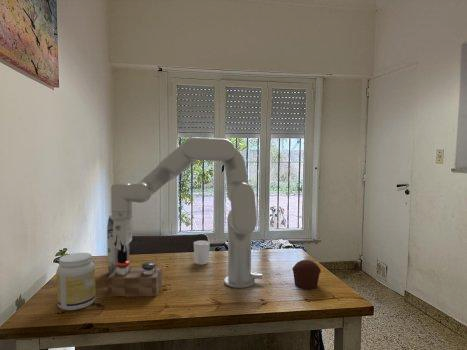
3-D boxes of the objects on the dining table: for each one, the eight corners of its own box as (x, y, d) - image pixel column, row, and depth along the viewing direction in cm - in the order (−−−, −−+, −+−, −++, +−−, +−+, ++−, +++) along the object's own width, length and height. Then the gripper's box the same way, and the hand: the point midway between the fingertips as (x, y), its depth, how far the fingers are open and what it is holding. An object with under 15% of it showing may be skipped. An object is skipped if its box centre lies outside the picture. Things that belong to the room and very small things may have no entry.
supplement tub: (102, 297, 120) (101, 253, 119) (80, 313, 108) (79, 263, 107) (74, 294, 123) (73, 250, 122) (49, 309, 111) (47, 260, 110)
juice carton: (129, 268, 151) (128, 211, 149) (129, 276, 141) (128, 215, 139) (109, 270, 148) (107, 212, 146) (107, 279, 138) (106, 216, 136)
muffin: (311, 293, 124) (311, 268, 123) (286, 285, 131) (286, 261, 131) (325, 284, 133) (326, 260, 132) (301, 277, 140) (302, 255, 140)
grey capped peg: (156, 286, 130) (156, 261, 129) (154, 291, 125) (154, 265, 124) (143, 286, 130) (143, 261, 129) (140, 291, 124) (140, 266, 124)
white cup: (209, 265, 156) (209, 244, 155) (192, 265, 156) (192, 244, 156) (210, 260, 164) (210, 240, 163) (194, 259, 164) (194, 240, 163)
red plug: (131, 284, 129) (131, 259, 129) (128, 289, 124) (127, 263, 124) (118, 284, 129) (118, 259, 129) (114, 289, 124) (113, 263, 123)
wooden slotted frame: (117, 284, 133) (117, 267, 132) (161, 283, 133) (161, 266, 133) (107, 296, 121) (107, 278, 120) (156, 296, 121) (156, 277, 121)
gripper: (126, 218, 118) (126, 268, 119) (136, 211, 133) (137, 255, 134) (105, 218, 117) (105, 268, 118) (117, 211, 132) (118, 255, 133)
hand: (122, 261), depth 126 cm, fingers closed
